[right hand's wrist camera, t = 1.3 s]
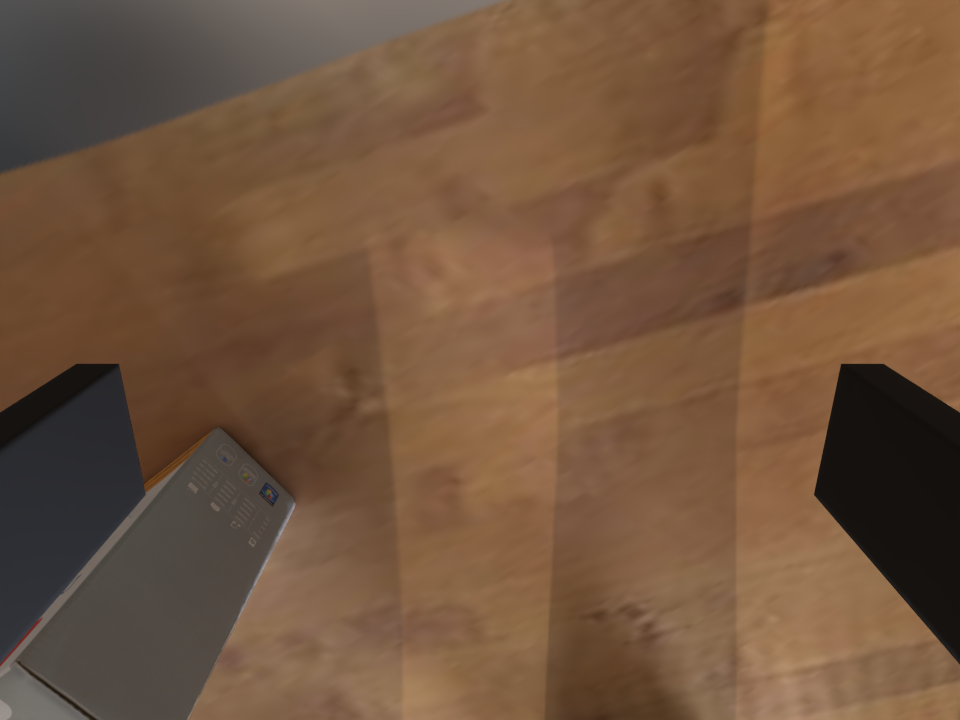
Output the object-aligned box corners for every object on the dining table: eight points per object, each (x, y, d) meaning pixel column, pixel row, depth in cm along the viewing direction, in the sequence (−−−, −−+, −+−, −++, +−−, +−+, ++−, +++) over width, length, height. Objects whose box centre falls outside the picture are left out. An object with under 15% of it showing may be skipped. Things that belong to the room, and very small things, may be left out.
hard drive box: (218, 420, 43) (19, 659, 24) (300, 499, 45) (175, 775, 27) (63, 543, 47) (-215, 836, 28) (146, 612, 49) (-60, 926, 30)
